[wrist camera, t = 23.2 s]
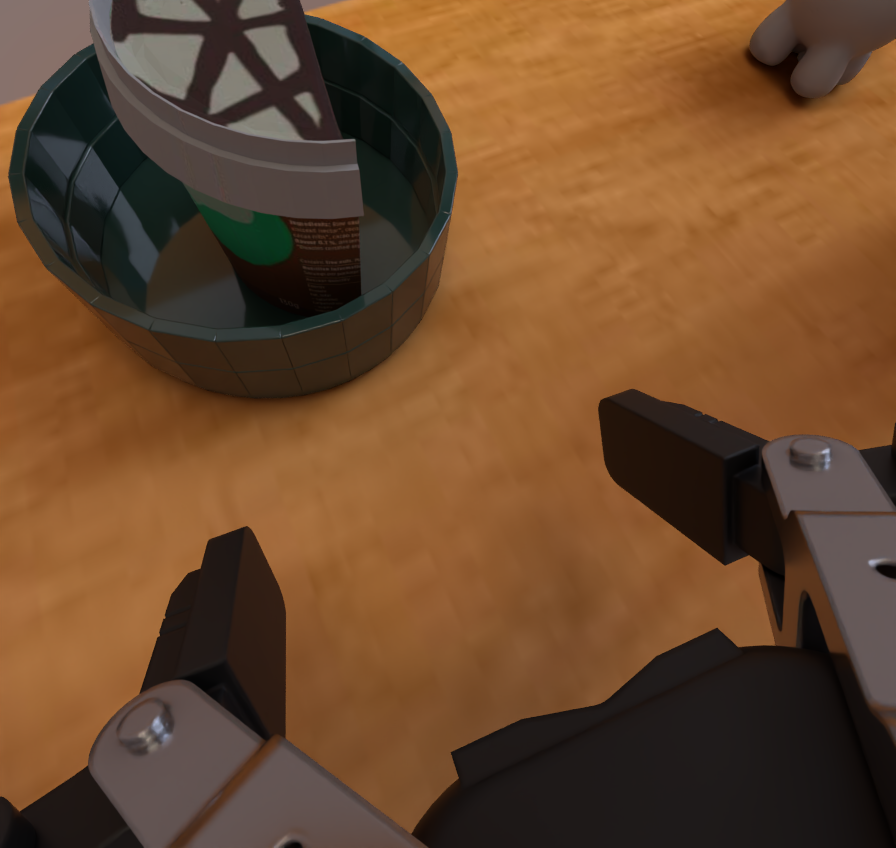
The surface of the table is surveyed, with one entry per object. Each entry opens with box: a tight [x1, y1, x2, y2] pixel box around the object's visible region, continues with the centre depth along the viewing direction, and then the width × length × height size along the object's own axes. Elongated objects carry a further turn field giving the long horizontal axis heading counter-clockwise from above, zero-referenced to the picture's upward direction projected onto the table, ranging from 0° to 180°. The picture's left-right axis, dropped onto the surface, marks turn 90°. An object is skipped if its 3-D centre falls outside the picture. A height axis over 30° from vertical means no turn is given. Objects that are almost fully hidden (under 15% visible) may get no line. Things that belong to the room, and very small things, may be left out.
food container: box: [89, 0, 364, 317], centre depth 18 cm, size 12×6×10 cm, turn 18°
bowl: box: [8, 15, 458, 398], centre depth 21 cm, size 16×16×6 cm
